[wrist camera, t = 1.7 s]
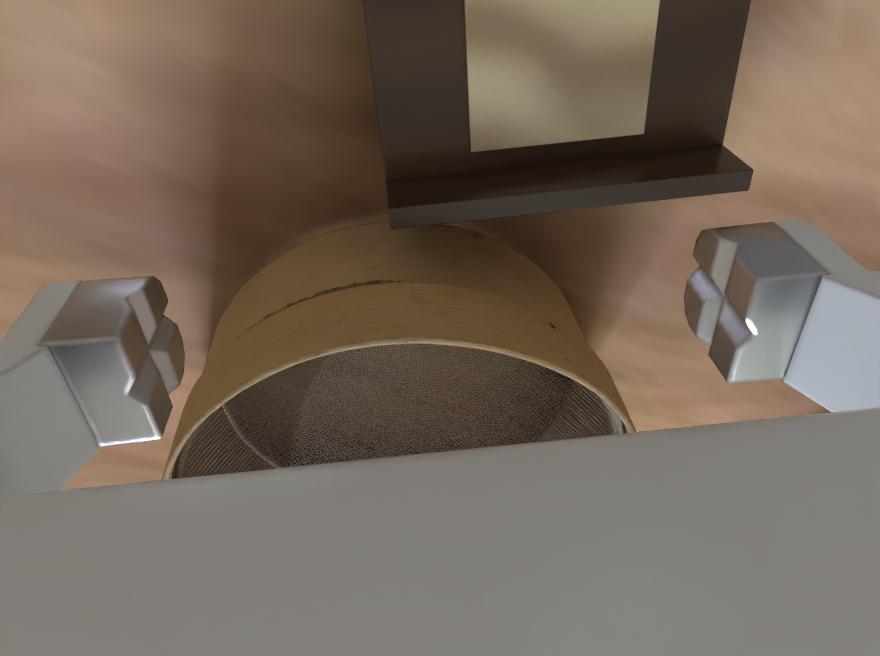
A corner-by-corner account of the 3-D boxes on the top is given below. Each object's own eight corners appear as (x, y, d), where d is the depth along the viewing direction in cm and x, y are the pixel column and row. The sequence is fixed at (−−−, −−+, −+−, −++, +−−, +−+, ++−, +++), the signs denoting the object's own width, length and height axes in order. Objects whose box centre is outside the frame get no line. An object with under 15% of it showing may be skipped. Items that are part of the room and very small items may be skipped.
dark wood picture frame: (354, -81, 27) (352, -64, 22) (725, -115, 28) (818, -107, 22) (385, 167, 34) (390, 230, 28) (685, 135, 34) (749, 190, 29)
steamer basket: (428, 544, 53) (441, 686, 44) (132, 417, 42) (69, 573, 33) (663, 351, 43) (743, 484, 34) (357, 120, 32) (356, 225, 23)
